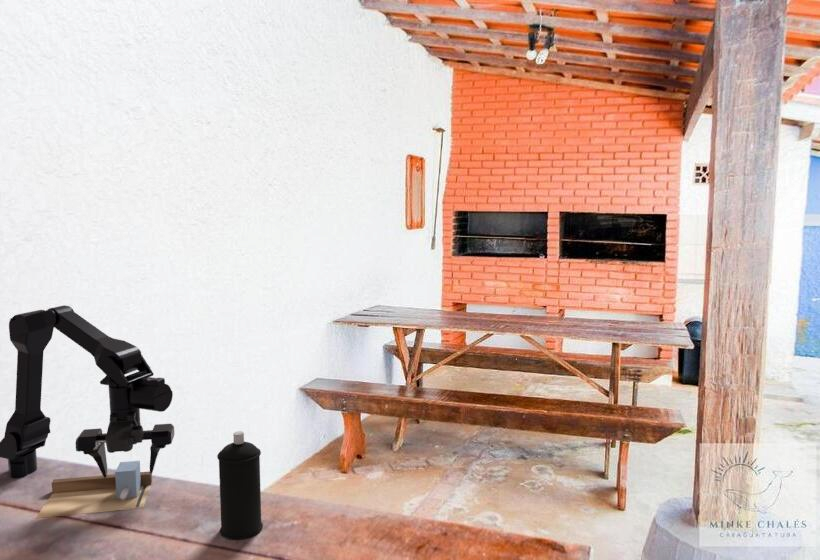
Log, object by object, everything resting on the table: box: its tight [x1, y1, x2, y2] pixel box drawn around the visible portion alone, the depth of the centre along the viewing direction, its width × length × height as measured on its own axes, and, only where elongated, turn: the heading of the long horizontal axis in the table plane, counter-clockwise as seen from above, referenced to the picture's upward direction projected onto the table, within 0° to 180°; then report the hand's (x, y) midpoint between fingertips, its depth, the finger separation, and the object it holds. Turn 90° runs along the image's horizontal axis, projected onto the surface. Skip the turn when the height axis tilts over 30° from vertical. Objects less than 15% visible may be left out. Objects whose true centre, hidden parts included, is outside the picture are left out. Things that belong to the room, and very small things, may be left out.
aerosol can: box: [216, 430, 264, 541], centre depth 127 cm, size 8×8×20 cm
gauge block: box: [114, 460, 141, 500], centre depth 137 cm, size 8×4×6 cm, turn 13°
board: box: [35, 470, 153, 519], centre depth 137 cm, size 12×20×4 cm, turn 103°
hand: (128, 474), depth 139 cm, fingers open, 9 cm apart
